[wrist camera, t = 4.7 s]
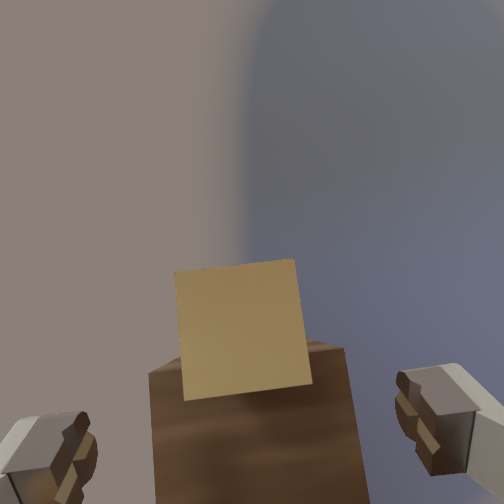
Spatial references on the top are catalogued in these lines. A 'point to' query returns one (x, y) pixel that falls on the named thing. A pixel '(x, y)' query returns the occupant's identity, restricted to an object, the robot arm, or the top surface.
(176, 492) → the walnut post
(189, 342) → the cream tan bar
